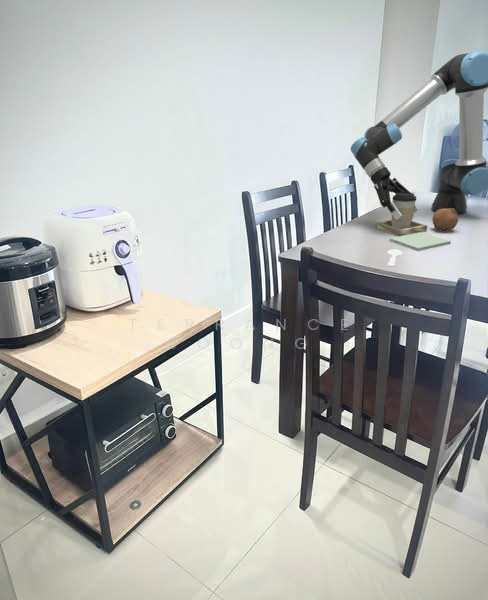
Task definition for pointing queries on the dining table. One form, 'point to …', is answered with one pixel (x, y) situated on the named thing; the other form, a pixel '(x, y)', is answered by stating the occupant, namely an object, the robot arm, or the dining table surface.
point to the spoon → (393, 256)
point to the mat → (420, 241)
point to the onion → (445, 219)
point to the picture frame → (413, 229)
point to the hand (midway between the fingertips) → (407, 214)
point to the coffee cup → (404, 209)
